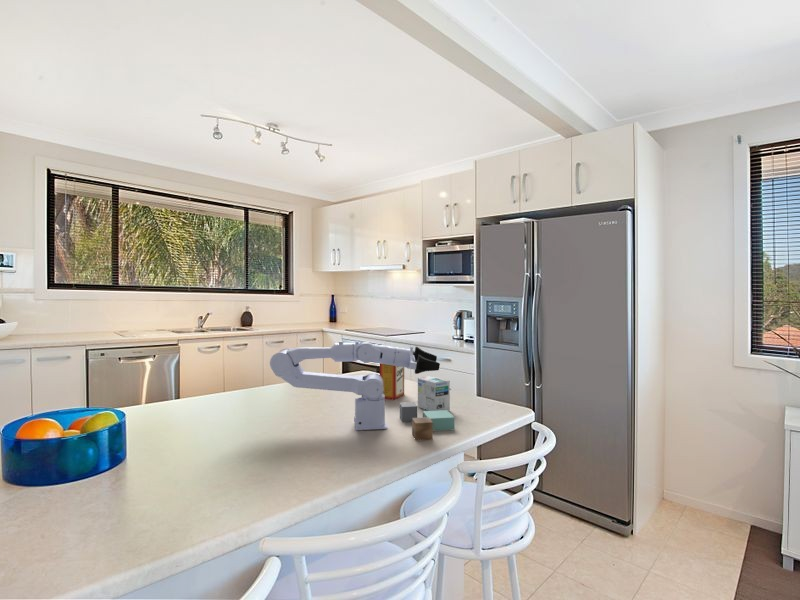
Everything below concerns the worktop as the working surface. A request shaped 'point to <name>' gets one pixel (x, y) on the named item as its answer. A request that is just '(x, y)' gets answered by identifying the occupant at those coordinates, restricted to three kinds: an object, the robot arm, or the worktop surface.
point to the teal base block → (440, 419)
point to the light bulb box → (433, 393)
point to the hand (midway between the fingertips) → (437, 363)
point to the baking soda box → (392, 381)
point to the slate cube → (408, 411)
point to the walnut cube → (422, 428)
